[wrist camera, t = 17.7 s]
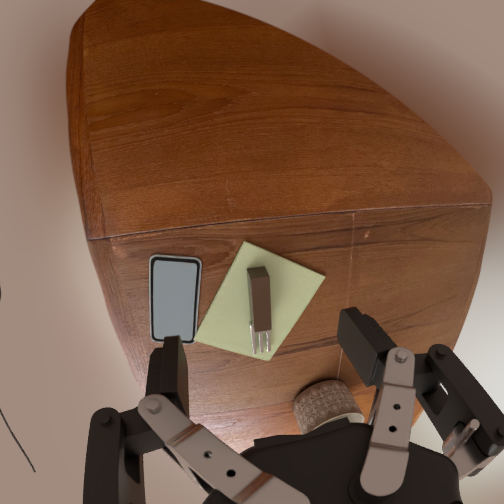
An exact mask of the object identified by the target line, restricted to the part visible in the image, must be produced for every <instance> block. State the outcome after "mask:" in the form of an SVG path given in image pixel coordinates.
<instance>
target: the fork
mask: <svg viewBox="0 0 504 504" xmlns="http://www.w3.org/2000/svg"><path fill="white" fill-rule="evenodd" d="M247 281H248V294H249V306H250V318H251V321H249V329H250V333H251V344H252V352H253V354H256V339H255V334H258V340H259V351H260V353H263V352H264V348H263V333H265V334H266V349H267V352H269V351H271V342H270V332H271V330H272V322H271V294H270V276H269V274H268V272H267V270H266V268H265V266H262V267H254V268H247Z"/></svg>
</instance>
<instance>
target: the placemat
mask: <svg viewBox="0 0 504 504" xmlns="http://www.w3.org/2000/svg"><path fill="white" fill-rule="evenodd" d="M262 266H265V268H266V270H267V272H268V274H269V276H270V294H271V322H272V330H271V332H270V342H271V351H269V352H267V349H266V334H265V333H263V348H264V352H263V353H260V351H259V340H258V334H255V339H256V354H253V352H252V344H251V333H250V329H249V321H251V318H250V306H249V294H248V281H247V268H254V267H262ZM324 278H325V276H324V275H322V274H320V273H317V272H315V271H313V270H311V269H308V268H306V267H304V266H301V265H299V264H297V263H295V262H292V261H290V260H288V259H286V258H283V257H281V256H279V255H276V254H274V253H272V252H270V251H267V250H265V249H263V248H260V247H258V246H256V245H253V244H251V243H249V242H247V241H244V242H243V244H242V246H241V248H240V249H239V251H238V253H237V255H236V257H235V259H234V261H233V263H232V265H231V267H230V268H229V270H228V272H227V274H226V276H225V278H224V280H223V282H222V284H221V286H220V288H219V289H218V291H217V293H216V295H215V297H214V299H213V301H212V303H211V305H210V307H209V309H208V311H207V313H206V314H205V316H204V318H203V320H202V322H201V324H200V326H199V328H198V330H197V332H196V335H195V337H194V339H193V340H195V341H198V342H202V343H205V344H208V345H212V346H215V347H218V348H222V349H225V350H229V351H232V352H236V353H240V354H243V355H247V356H251V357H255V358H259V359H263V360H267V361H269V360H270V359H271V357H272V356H273V354H274V353H275V352H276V350H277V349H278V347H279V346H280V345H281V343H282V342H283V340H284V339H285V337H286V336H287V334H288V333H289V332H290V330H291V329H292V327H293V326H294V324H295V323H296V321H297V320H298V318H299V317H300V315H301V314H302V312H303V311H304V309H305V308H306V306H307V305H308V303H309V302H310V300H311V299H312V297H313V295H314V294H315V292H316V291H317V289H318V288H319V286H320V284H321V283H322V281H323V280H324Z"/></svg>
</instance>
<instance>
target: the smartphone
mask: <svg viewBox="0 0 504 504" xmlns="http://www.w3.org/2000/svg"><path fill="white" fill-rule="evenodd" d="M201 267H202V263H201V261H200V259H198V258H196V257H184V256H173V255H159V254H155V255H153V256H151V258H150V260H149V309H150V313H149V315H150V336H151V339H152V340H153V341H154V342H159V343H164V337H166V336H176V335H180V337H181V341H182V344H193V343H195V340H193V339H194V337H195V335H196V332H197V319H198V303H199V290H200V279H201Z"/></svg>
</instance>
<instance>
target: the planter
mask: <svg viewBox="0 0 504 504" xmlns="http://www.w3.org/2000/svg"><path fill="white" fill-rule="evenodd" d="M292 408H293V412H294V415H295V418H296V420H297V423H298V426H299V429H300V431H301V434H302V435H303V434H306V433H308V432H310V431H312V430H314V429H316V428H318V427H320V426H322V425H324V424H325V423H328V422H332V421H335V420H339V419H342V418H345V417H348V419H349V421H350V423H351V422H359V423H364V420H365V418H364V415H363V414H362V412H361V410H360V408H359V407H358V405H357V403H356V401H355V399H354V398H353V396H352V394H351V392H350V390H349V389H348V387H347V385H346V384H345V383H344V382H342V381H338V380H328V381H323V382H320V383H317V384H314V385H312V386H310V387H309V388H307V389H305V390H304V391H303V392H301V393H300V394H299V395H298V396H297V398H296V399H295V401H294V403H293V407H292Z"/></svg>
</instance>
